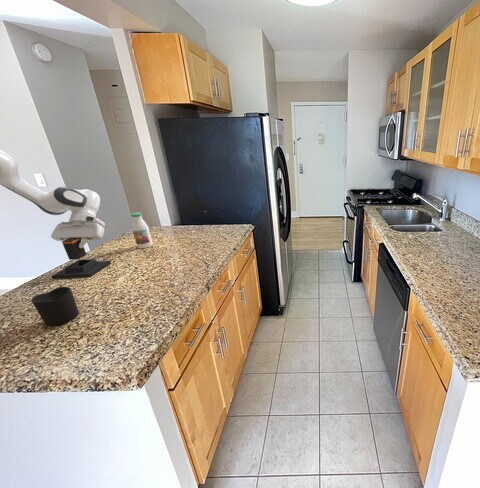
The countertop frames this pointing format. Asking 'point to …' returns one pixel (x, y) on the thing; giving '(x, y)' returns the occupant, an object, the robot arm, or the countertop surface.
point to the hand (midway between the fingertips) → (73, 248)
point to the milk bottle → (141, 231)
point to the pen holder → (56, 306)
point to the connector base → (81, 269)
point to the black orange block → (73, 248)
